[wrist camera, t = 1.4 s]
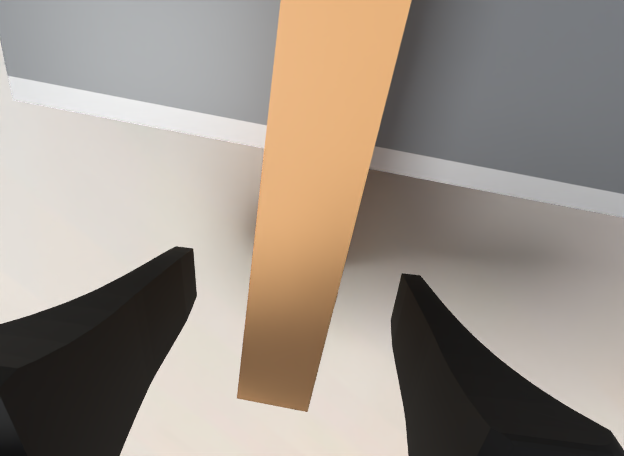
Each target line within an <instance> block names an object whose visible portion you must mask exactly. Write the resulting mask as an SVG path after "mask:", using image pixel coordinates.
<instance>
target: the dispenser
mask: <svg viewBox="0 0 624 456" xmlns="http://www.w3.org/2000/svg"><path fill="white" fill-rule="evenodd" d="M280 1H281V0H0V41H1V46H2V51H3V56H4V60H5V65H6V70H7V75H8V80H9V85H10V90H11V94H12V99H13V100H14V101H19V102H24V103H29V104H34V105H40V106H45V107H50V108H55V109H60V110H66V111H71V112H76V113H81V114H86V115H92V116H97V117H102V118H107V119H112V120H118V121H123V122H128V123H133V124H138V125H144V126H149V127H154V128H159V129H164V130H170V131H175V132H180V133H185V134H190V135H195V136H201V137H206V138H211V139H216V140H221V141H227V142H232V143H237V144H242V145H247V146H253V147H258V148H263V149H264V147H265V138H266V129H267V120H268V111H269V101H270V92H271V83H272V74H273V65H274V56H275V47H276V38H277V29H278V19H279V10H280ZM369 169H372V170H377V171H383V172H388V173H393V174H398V175H403V176H409V177H414V178H419V179H424V180H429V181H435V182H440V183H445V184H450V185H455V186H461V187H466V188H471V189H476V190H481V191H487V192H492V193H497V194H502V195H507V196H512V197H518V198H523V199H528V200H533V201H538V202H544V203H549V204H554V205H559V206H564V207H570V208H575V209H580V210H585V211H590V212H596V213H601V214H606V215H611V216H616V217H622V218H624V0H412V1H411V5H410V9H409V13H408V17H407V20H406V24H405V28H404V32H403V36H402V40H401V44H400V48H399V52H398V56H397V60H396V64H395V68H394V72H393V76H392V80H391V84H390V88H389V92H388V96H387V99H386V103H385V107H384V111H383V115H382V119H381V123H380V127H379V131H378V135H377V139H376V143H375V147H374V151H373V155H372V159H371V163H370V167H369Z"/></svg>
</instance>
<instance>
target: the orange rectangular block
mask: <svg viewBox="0 0 624 456" xmlns="http://www.w3.org/2000/svg"><path fill="white" fill-rule="evenodd" d="M411 1H412V0H281V1H280V10H279V19H278V29H277V38H276V47H275V56H274V65H273V74H272V83H271V92H270V101H269V111H268V120H267V129H266V138H265V147H264V156H263V165H262V174H261V183H260V193H259V202H258V211H257V220H256V229H255V238H254V247H253V256H252V265H251V275H250V283H249V293H248V302H247V311H246V320H245V329H244V338H243V347H242V357H241V366H240V375H239V384H238V393H237V398H238V399H243V400H249V401H254V402H259V403H264V404H269V405H274V406H280V407H285V408H290V409H295V410H300V411H305V412H307V411H308V408H309V404H310V400H311V396H312V392H313V388H314V384H315V380H316V376H317V372H318V368H319V364H320V360H321V356H322V352H323V348H324V344H325V340H326V336H327V332H328V329H329V325H330V321H331V317H332V313H333V309H334V305H335V302H336V298H337V294H338V289H339V285H340V281H341V277H342V273H343V269H344V265H345V261H346V257H347V253H348V250H349V246H350V242H351V238H352V234H353V230H354V226H355V222H356V218H357V214H358V210H359V206H360V202H361V198H362V194H363V190H364V186H365V182H366V178H367V175H368V171H369V167H370V163H371V159H372V155H373V151H374V147H375V143H376V139H377V135H378V131H379V127H380V123H381V119H382V115H383V111H384V107H385V103H386V99H387V96H388V92H389V88H390V84H391V80H392V76H393V72H394V68H395V64H396V60H397V56H398V52H399V48H400V44H401V40H402V36H403V32H404V28H405V24H406V20H407V17H408V13H409V9H410V5H411Z"/></svg>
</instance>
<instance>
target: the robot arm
mask: <svg viewBox="0 0 624 456" xmlns="http://www.w3.org/2000/svg"><path fill="white" fill-rule="evenodd" d="M196 296H197V292H196V279H195V266H194V253H193V248H184V247H174V248H172V249H170V250H168V251H166V252H165V253H163V254H161V255H159V256H158V257H156V258H154V259H152V260H151V261H149V262H147V263H145V264H144V265H142V266H140V267H138V268H137V269H135V270H133V271H131V272H130V273H128V274H126V275H124V276H122V277H120V278H118V279H116V280H114V281H112V282H110V283H109V284H107V285H105V286H103V287H101V288H99V289H97V290H94V291H92V292H90V293H88V294H86V295H83V296H81V297H78V298H76V299H74V300H71V301H69V302H66V303H64V304H61V305H58V306H56V307H53V308H50V309H47V310H44V311H41V312H38V313H36V314H33V315H30V316H27V317H23V318H20V319H17V320H13V321H10V322H7V323H3V324H0V456H120V453H121V451H122V448H123V446H124V443H125V441H126V438H127V436H128V434H129V431H130V429H131V427H132V424H133V422H134V420H135V417H136V415H137V413H138V410H139V408H140V406H141V404H142V401H143V399H144V397H145V395H146V393H147V390H148V388H149V386H150V384H151V382H152V380H153V378H154V377H155V375H156V373H157V371H158V369H159V368H160V366H161V364H162V363H163V361H164V359H165V357H166V356H167V354H168V352H169V351H170V349H171V347H172V345H173V344H174V342H175V340H176V339H177V337H178V335H179V333H180V332H181V330H182V328H183V326H184V325H185V323H186V321H187V319H188V316H189V314H190V312H191V309H192V307H193V304H194V302H195V299H196ZM391 334H392V347H393V353H394V359H395V364H396V369H397V375H398V380H399V385H400V390H401V396H402V401H403V406H404V413H405V420H406V431H407V442H408V455H409V456H624V450H623V448H622V447H621V445H620V444H619V442H618V441H617V439H616V438H615V436H614V435H613V433H612V432H611V431H610V430H608V429H607V428H605V427H603V426H601V425H599V424H598V423H596V422H594V421H592V420H591V419H589V418H587V417H585V416H583V415H582V414H580V413H578V412H576V411H574V410H573V409H571V408H569V407H568V406H566V405H564V404H563V403H561V402H560V401H558V400H556V399H555V398H553V397H552V396H550V395H549V394H547V393H545V392H544V391H542V390H541V389H539V388H538V387H536V386H535V385H534V384H532V383H531V382H529V381H528V380H526V379H525V378H524V377H522V376H521V375H520V374H518V373H517V372H516V371H514V370H513V369H512V368H510V367H509V366H508V365H506V364H505V363H504V362H503V361H501V360H500V359H499V358H498V357H497V356H495V355H494V354H493V353H492V352H491V351H490V350H488V349H487V348H486V347H485V346H484V345H483V344H482V343H481V342H479V341H478V340H477V339H476V338H475V337H474V336H473V335H472V334H471V333H470V332H469V331H468V330H467V329H466V328H465V327H464V326H463V325H462V324H461V323H460V322H459V321H458V320H457V318H456V317H455V316H454V315H453V314H452V313H451V312H450V311H449V310H448V308H447V307H446V306H445V305H444V304H443V303H442V301H441V300H440V299H439V298H438V297H437V295H436V294H435V293H434V292H433V291H432V289H431V288H430V287H429V286H428V284H427V283H426V282H425V281H424V280H423V278H422V277H421V276H420V275H411V274H403V273H402V275H401V279H400V284H399V288H398V292H397V296H396V300H395V305H394V309H393V313H392V317H391Z"/></svg>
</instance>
